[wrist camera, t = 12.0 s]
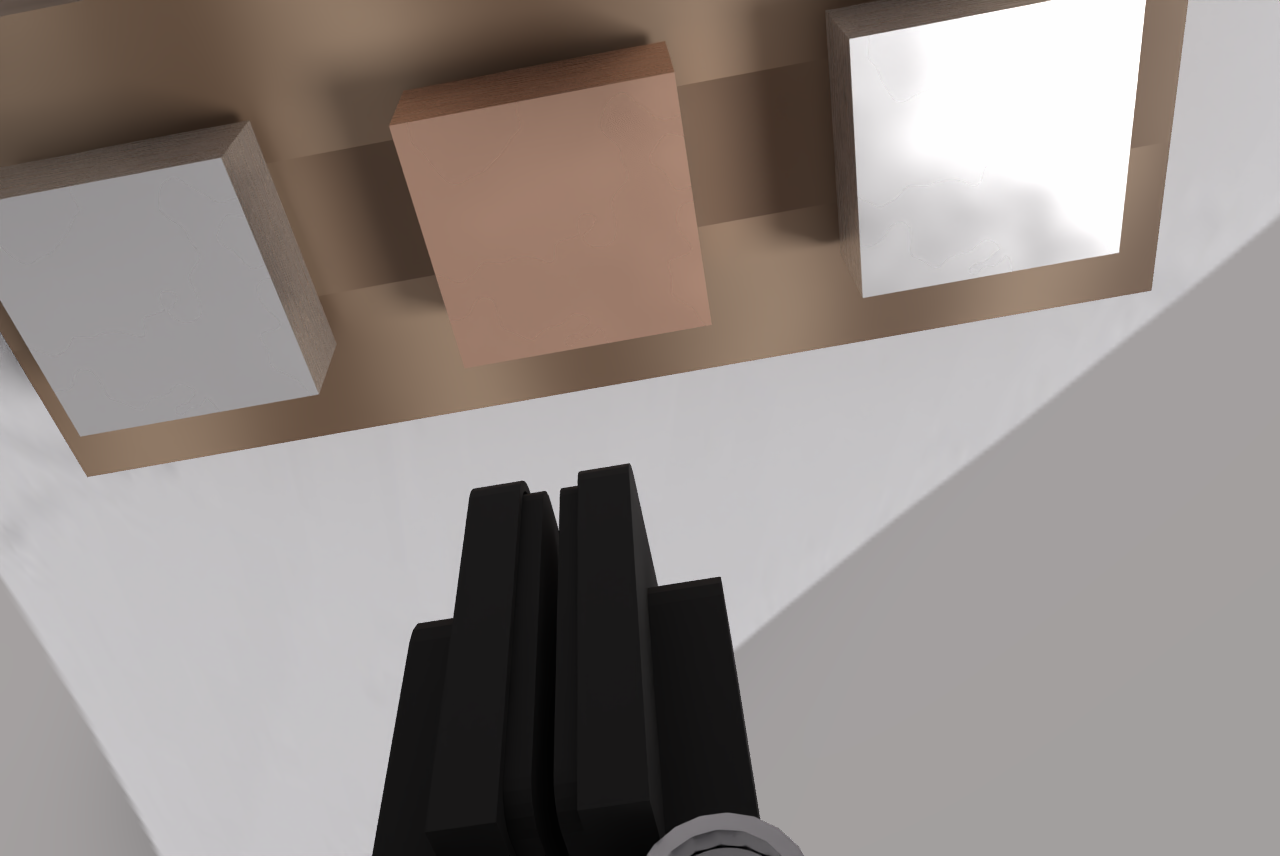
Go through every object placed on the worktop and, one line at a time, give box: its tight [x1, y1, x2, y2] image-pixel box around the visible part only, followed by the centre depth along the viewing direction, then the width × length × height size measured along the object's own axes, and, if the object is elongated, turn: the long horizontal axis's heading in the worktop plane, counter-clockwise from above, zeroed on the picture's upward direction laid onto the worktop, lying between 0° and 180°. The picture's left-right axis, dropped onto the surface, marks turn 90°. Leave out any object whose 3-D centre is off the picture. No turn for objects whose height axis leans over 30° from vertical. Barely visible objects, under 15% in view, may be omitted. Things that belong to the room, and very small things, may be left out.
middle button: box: [389, 41, 712, 368], centre depth 22 cm, size 5×5×6 cm
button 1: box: [0, 120, 337, 437], centre depth 22 cm, size 5×5×6 cm
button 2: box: [825, 0, 1145, 298], centre depth 21 cm, size 5×5×6 cm
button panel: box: [0, 0, 1188, 477], centre depth 23 cm, size 25×10×4 cm, turn 100°
